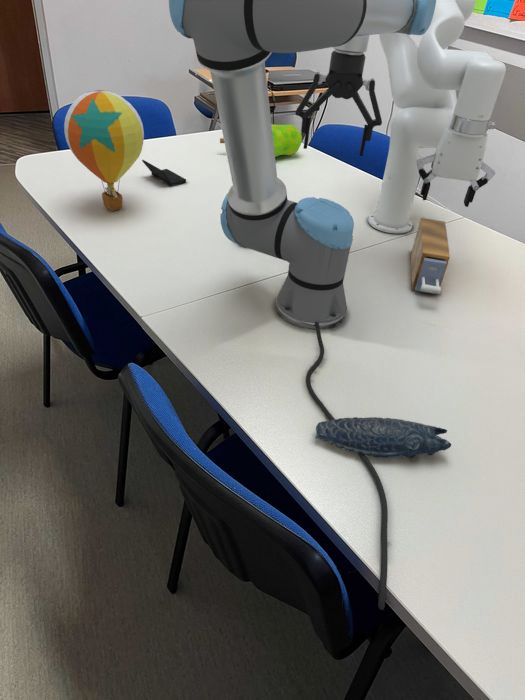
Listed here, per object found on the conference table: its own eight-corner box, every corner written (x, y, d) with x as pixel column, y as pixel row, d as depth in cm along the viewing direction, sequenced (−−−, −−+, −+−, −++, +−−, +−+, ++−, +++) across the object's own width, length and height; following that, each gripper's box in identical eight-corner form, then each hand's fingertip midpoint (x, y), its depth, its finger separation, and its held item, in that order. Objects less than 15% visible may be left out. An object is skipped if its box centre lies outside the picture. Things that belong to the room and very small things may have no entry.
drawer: (437, 306, 116) (448, 275, 111) (415, 302, 117) (425, 271, 112) (433, 257, 134) (442, 229, 129) (414, 254, 135) (422, 226, 130)
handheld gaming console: (190, 175, 164) (173, 153, 156) (179, 193, 163) (161, 172, 155) (166, 170, 170) (147, 148, 162) (155, 188, 169) (136, 167, 161)
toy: (64, 203, 145) (44, 85, 127) (127, 189, 156) (117, 79, 137) (97, 229, 134) (80, 105, 116) (162, 213, 145) (156, 96, 126)
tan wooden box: (437, 294, 122) (450, 256, 116) (411, 289, 123) (422, 252, 117) (434, 256, 137) (445, 221, 131) (411, 252, 138) (420, 217, 132)
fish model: (449, 471, 80) (458, 449, 77) (314, 454, 81) (318, 432, 78) (442, 439, 86) (450, 418, 83) (315, 423, 87) (319, 401, 84)
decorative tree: (217, 118, 187) (297, 118, 193) (217, 148, 194) (295, 147, 199) (223, 133, 174) (309, 132, 179) (223, 164, 180) (306, 163, 185)
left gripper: (405, 55, 115) (383, 152, 129) (294, 42, 117) (284, 139, 130) (407, 61, 110) (384, 162, 123) (290, 47, 111) (280, 148, 124)
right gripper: (507, 125, 113) (480, 200, 123) (426, 115, 114) (407, 189, 125) (513, 135, 107) (484, 213, 118) (428, 124, 109) (407, 202, 119)
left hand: (333, 150), depth 127 cm, fingers open, 13 cm apart
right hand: (444, 201), depth 121 cm, fingers open, 9 cm apart
